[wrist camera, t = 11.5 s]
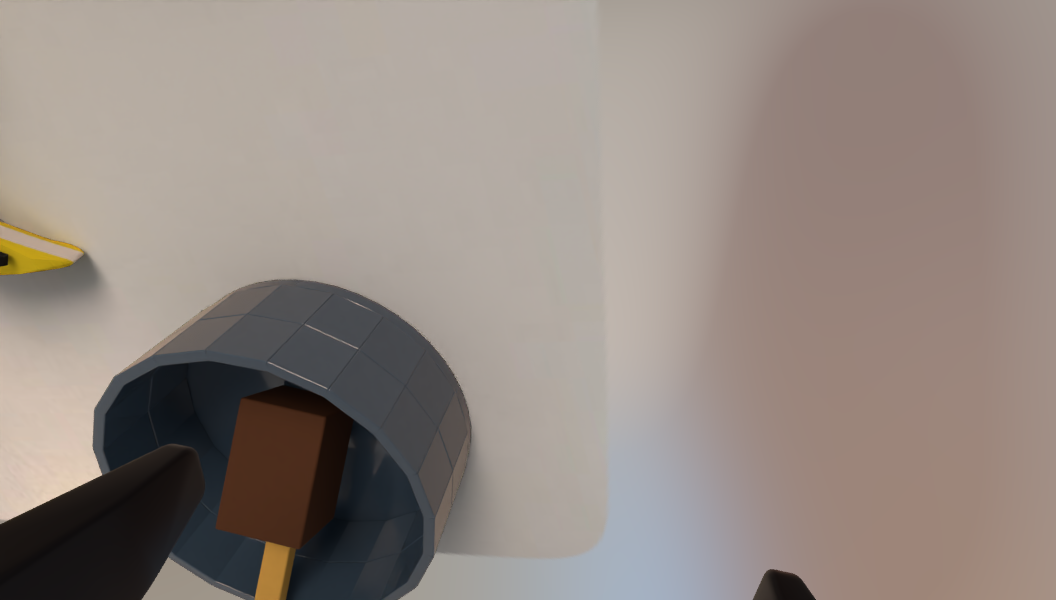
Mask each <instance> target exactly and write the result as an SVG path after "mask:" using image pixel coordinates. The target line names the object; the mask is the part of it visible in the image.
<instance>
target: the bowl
mask: <svg viewBox="0 0 1056 600" xmlns="http://www.w3.org/2000/svg"><path fill="white" fill-rule="evenodd" d="M282 385H284V386H289V387H293V388H297V389H302V390H306V391H311V392H313V393H315V394H318V395H320V396H322V397H324V398H325V399H327V400H328V401H329V402H331V403H332V404H333V405H335V406H336V407H337V408H339V409H340V410H341V411H343V412H344V413H345V414H347V415H348V416H349V417H351V418H352V419H353V425H352V430H351V435H350V440H349V445H348V450H347V455H346V460H345V465H344V470H343V475H342V480H341V485H340V489H339V494H338V499H337V504H336V509H335V514H334V518H333V519H332V520H331V521H330V522H329V523H328V524H327V525H325V526H324V527H323V528H322V529H321V530H320V531H319V532H318V533H317V534H316V535H315V536H314V537H313V538H311V539H310V540H309V541H308V542H307V543H306V544H305V545H304V546H303V547H302V548H301V549H296V551H295V556H294V561H293V566H292V571H291V576H290V581H289V586H288V591H287V596H286V600H398V599H400V598H401V597H403V596H404V595H405V594H407V593H409V592H410V591H412V590H413V589H415V588H416V587H417V586H418V584H419V582H420V581H421V579H422V577H423V575H424V574H425V572H426V570H427V568H428V566H429V565H430V563H431V561H432V559H433V558H434V555H435V552H436V549H437V547H438V544H439V541H440V538H441V535H442V533H443V530H444V527H445V524H446V521H447V519H448V516H449V513H450V510H451V507H452V505H453V502H454V499H455V496H456V493H457V491H458V488H459V485H460V482H461V479H462V477H463V474H464V471H465V468H466V460H467V457H468V454H469V447H470V441H471V429H470V419H469V414H468V408H467V405H466V402H465V399H464V396H463V393H462V391H461V389H460V387H459V385H458V383H457V381H456V378H455V376H454V375H453V373H452V372H451V370H450V368H449V367H448V365H447V364H446V362H445V361H444V359H443V358H442V357H441V356H440V355H439V353H438V352H437V351H436V350H435V349H434V347H433V346H432V345H431V344H430V343H429V342H428V341H427V340H426V339H425V338H424V337H423V336H422V335H421V334H420V333H419V332H418V331H417V330H416V329H414V328H413V327H412V326H411V325H409V324H408V323H407V322H405V321H404V320H403V319H401V318H400V317H399V316H397V315H396V314H394V313H393V312H391V311H389V310H388V309H386V308H385V307H383V306H381V305H380V304H378V303H376V302H374V301H372V300H370V299H367V298H365V297H363V296H361V295H359V294H357V293H354V292H351V291H348V290H345V289H342V288H340V287H336V286H332V285H328V284H323V283H319V282H313V281H304V280H272V281H265V282H259V283H255V284H252V285H248V286H245V287H242V288H239V289H237V290H235V291H233V292H231V293H229V294H227V295H226V296H224V297H223V298H222V299H220V300H219V301H218V302H216V303H214V304H213V305H211V306H209V307H207V308H206V309H204V310H202V311H201V312H200V313H198V314H197V315H196V316H194V317H193V318H192V319H190V320H189V321H188V322H186V323H185V324H184V325H182V326H181V327H180V328H178V329H177V330H176V331H174V332H173V333H172V334H170V335H169V336H168V337H166V338H165V339H164V340H162V341H161V342H160V343H158V344H157V345H156V346H154V347H153V348H152V349H150V350H149V351H148V352H146V353H145V354H144V355H142V356H141V357H140V358H138V359H137V360H136V361H134V362H133V363H132V364H130V365H129V366H128V367H126V368H125V369H124V370H122V371H121V372H120V373H118V374H117V375H116V376H115V377H114V378H113V379H112V381H111V383H110V384H109V386H108V387H107V389H106V391H105V392H104V394H103V396H102V397H101V399H100V400H99V402H98V404H97V405H96V407H95V410H94V425H93V450H94V453H95V456H96V459H97V461H98V464H99V467H100V470H101V473H102V475H104V474H106V473H108V472H110V471H112V470H114V469H116V468H118V467H120V466H123V465H125V464H127V463H129V462H131V461H133V460H135V459H137V458H139V457H141V456H143V455H145V454H148V453H150V452H152V451H154V450H156V449H158V448H160V447H162V446H165V445H167V444H178V445H183V446H187V447H192V448H194V449H195V450H196V451H197V453H198V456H199V460H200V463H201V467H202V471H203V475H204V479H205V491H204V494H203V497H202V499H201V501H200V503H199V504H198V506H197V508H196V510H195V511H194V513H193V515H192V517H191V518H190V520H189V522H188V523H187V525H186V527H185V529H184V530H183V532H182V534H181V535H180V537H179V539H178V541H177V542H176V544H175V546H174V548H173V549H172V551H171V553H170V554H169V556H168V557H169V558H171V560H173V561H174V562H176V563H178V564H179V565H181V566H182V567H184V568H186V569H187V570H189V571H190V572H192V573H194V574H195V575H196V576H198V577H200V578H201V579H203V580H204V581H206V582H208V583H209V584H211V585H213V586H214V587H217V588H219V589H221V590H224V591H226V592H229V593H231V594H233V595H236V596H238V597H240V598H243V599H245V600H255V595H256V590H257V585H258V580H259V575H260V570H261V565H262V560H263V555H264V550H265V545H266V541H262V540H258V539H254V538H250V537H246V536H242V535H238V534H234V533H230V532H226V531H222V530H218V529H216V522H217V517H218V511H219V506H220V501H221V496H222V491H223V486H224V481H225V476H226V471H227V466H228V461H229V456H230V451H231V445H232V440H233V435H234V430H235V425H236V420H237V415H238V410H239V405H240V400H241V398H243V397H246V396H249V395H252V394H256V393H259V392H262V391H265V390H269V389H272V388H275V387H279V386H282Z"/></svg>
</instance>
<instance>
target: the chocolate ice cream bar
mask: <svg viewBox="0 0 1056 600" xmlns="http://www.w3.org/2000/svg"><path fill="white" fill-rule="evenodd" d="M352 425H353V419H352V418H351V417H349V416H348V415H347V414H345V413H344V412H343V411H341V410H340V409H339V408H337V407H336V406H335V405H333V404H332V403H331V402H329V401H328V400H327V399H325V398H324V397H322V396H320V395H318V394H315V393H313V392H311V391H306V390H302V389H297V388H293V387H289V386H284V385H282V386H279V387H275V388H272V389H269V390H265V391H262V392H259V393H256V394H252V395H249V396H246V397H243V398H241V400H240V405H239V410H238V415H237V420H236V425H235V430H234V435H233V440H232V445H231V451H230V456H229V461H228V466H227V471H226V476H225V481H224V486H223V491H222V496H221V501H220V506H219V511H218V517H217V522H216V529H218V530H222V531H226V532H230V533H234V534H238V535H242V536H246V537H250V538H254V539H258V540H262V541H266V545H265V550H264V555H263V560H262V565H261V570H260V575H259V580H258V585H257V590H256V595H255V600H286V596H287V591H288V586H289V581H290V576H291V571H292V566H293V561H294V556H295V551H296V549H301V548H302V547H303V546H304V545H305V544H306V543H307V542H308V541H309V540H310V539H311V538H313V537H314V536H315V535H316V534H317V533H318V532H319V531H320V530H321V529H322V528H323V527H324V526H325V525H327V524H328V523H329V522H330V521H331V520H332V519H333V518H334V514H335V509H336V504H337V499H338V494H339V489H340V485H341V480H342V475H343V470H344V465H345V460H346V455H347V450H348V445H349V440H350V435H351V430H352Z"/></svg>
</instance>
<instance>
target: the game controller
mask: <svg viewBox="0 0 1056 600" xmlns="http://www.w3.org/2000/svg"><path fill="white" fill-rule="evenodd" d="M83 255H84V252H83V251H82V250H81V249H79V248H77V247H75V246H73V245H71V244H67V243H63V242H59V241H53V240H50V239H47V238H44V237H42V236H39V235H36V234H33V233H31V232H28V231H25V230H22V229H19V228H17V227H14V226H11V225H8V224H6V223H4V222H3V221H1V220H0V275H10V274H24V273H32V272H40V271H46V270H52V269H59V268H64V267H67V266H70V265H72V264H73V263H74V262H76V261H77V260H78V259H79V258H81V257H82V256H83Z"/></svg>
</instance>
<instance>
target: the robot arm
mask: <svg viewBox="0 0 1056 600" xmlns="http://www.w3.org/2000/svg"><path fill="white" fill-rule="evenodd" d="M204 491H205V479H204V475H203V471H202V467H201V463H200V460H199V456H198V453H197V451H196V450H195V449H194V448H192V447H187V446H183V445H178V444H167V445H165V446H162V447H160V448H158V449H156V450H154V451H152V452H150V453H148V454H145V455H143V456H141V457H139V458H137V459H135V460H133V461H131V462H129V463H127V464H125V465H123V466H120V467H118V468H116V469H114V470H112V471H110V472H108V473H106V474H104V475H102V476H100V477H98V478H96V479H93V480H91V481H89V482H87V483H85V484H83V485H81V486H79V487H77V488H75V489H73V490H71V491H68V492H66V493H64V494H62V495H60V496H58V497H56V498H54V499H52V500H50V501H48V502H46V503H44V504H41V505H39V506H37V507H35V508H33V509H31V510H29V511H27V512H25V513H23V514H21V515H19V516H16V517H14V518H12V519H10V520H8V521H6V522H4V523H2V524H0V600H142V598H143V597H144V595H145V594H146V592H147V591H148V589H149V588H150V586H151V585H152V583H153V581H154V580H155V578H156V577H157V575H158V573H159V572H160V570H161V568H162V566H163V565H164V563H165V561H166V560H167V558H168V556H169V554H170V553H171V551H172V549H173V548H174V546H175V544H176V542H177V541H178V539H179V537H180V535H181V534H182V532H183V530H184V529H185V527H186V525H187V523H188V522H189V520H190V518H191V517H192V515H193V513H194V511H195V510H196V508H197V506H198V504H199V503H200V501H201V499H202V497H203V494H204ZM753 600H816V599H815V598H814V596H813V595H812V594H811V592H810V591H809V589H808V588H807V586H806V585H805V584H804V582H803V581H802V580H801V579H800V578H799V577H798V576H797V575H795V574H793V573H788V572H783V571H778V570H774V569H770V570H768V571H767V572H766V573H765V574H764V576H763V578H762V581H761V583H760V585H759V587H758V589H757V592H756V594H755V596H754V598H753Z"/></svg>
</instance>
